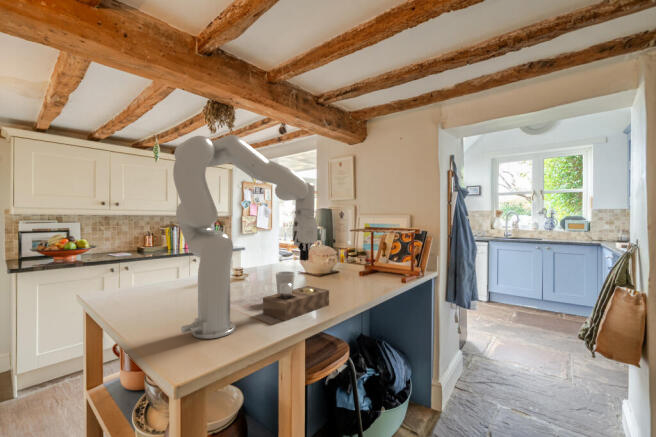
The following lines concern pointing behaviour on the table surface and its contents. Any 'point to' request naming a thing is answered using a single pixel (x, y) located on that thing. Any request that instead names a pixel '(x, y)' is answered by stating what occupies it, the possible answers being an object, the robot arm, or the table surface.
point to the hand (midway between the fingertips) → (304, 260)
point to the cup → (284, 278)
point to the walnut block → (295, 303)
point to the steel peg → (286, 290)
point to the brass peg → (308, 290)
